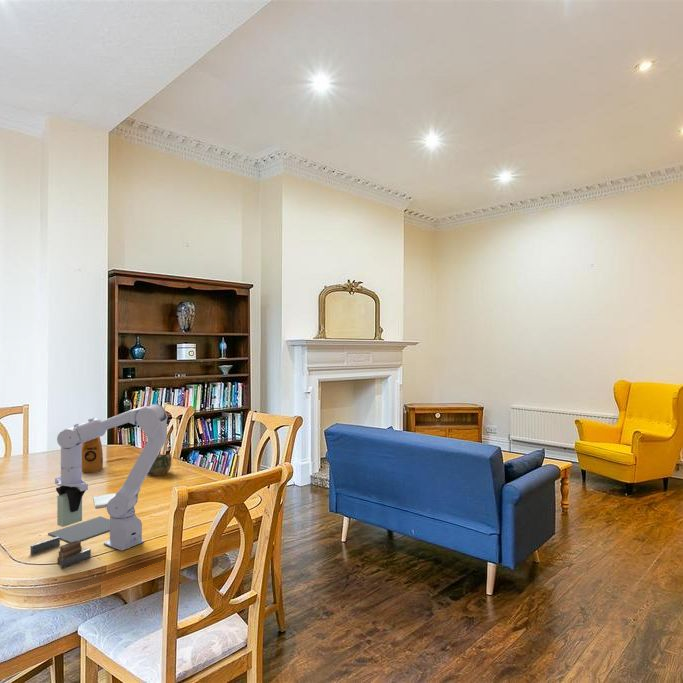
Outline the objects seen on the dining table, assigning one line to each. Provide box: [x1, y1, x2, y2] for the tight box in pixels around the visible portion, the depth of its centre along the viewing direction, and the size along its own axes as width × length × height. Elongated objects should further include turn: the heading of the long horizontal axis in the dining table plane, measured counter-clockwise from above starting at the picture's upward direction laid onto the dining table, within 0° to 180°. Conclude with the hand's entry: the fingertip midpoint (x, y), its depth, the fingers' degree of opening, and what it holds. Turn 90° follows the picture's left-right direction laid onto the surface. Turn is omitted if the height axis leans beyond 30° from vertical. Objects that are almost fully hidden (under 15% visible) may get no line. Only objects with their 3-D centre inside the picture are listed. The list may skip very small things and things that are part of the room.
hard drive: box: [92, 493, 117, 509], centre depth 192 cm, size 2×8×12 cm
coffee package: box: [82, 436, 104, 474], centre depth 238 cm, size 10×12×22 cm
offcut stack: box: [56, 541, 83, 566], centre depth 141 cm, size 2×6×5 cm, turn 148°
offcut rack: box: [30, 537, 92, 570], centre depth 144 cm, size 17×8×2 cm, turn 58°
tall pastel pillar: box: [56, 494, 83, 528], centre depth 152 cm, size 3×6×9 cm, turn 149°
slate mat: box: [47, 516, 110, 544], centre depth 164 cm, size 14×18×1 cm
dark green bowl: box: [147, 452, 172, 477], centre depth 233 cm, size 13×20×10 cm, turn 25°
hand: (71, 510), depth 153 cm, fingers closed on tall pastel pillar, 3 cm apart
